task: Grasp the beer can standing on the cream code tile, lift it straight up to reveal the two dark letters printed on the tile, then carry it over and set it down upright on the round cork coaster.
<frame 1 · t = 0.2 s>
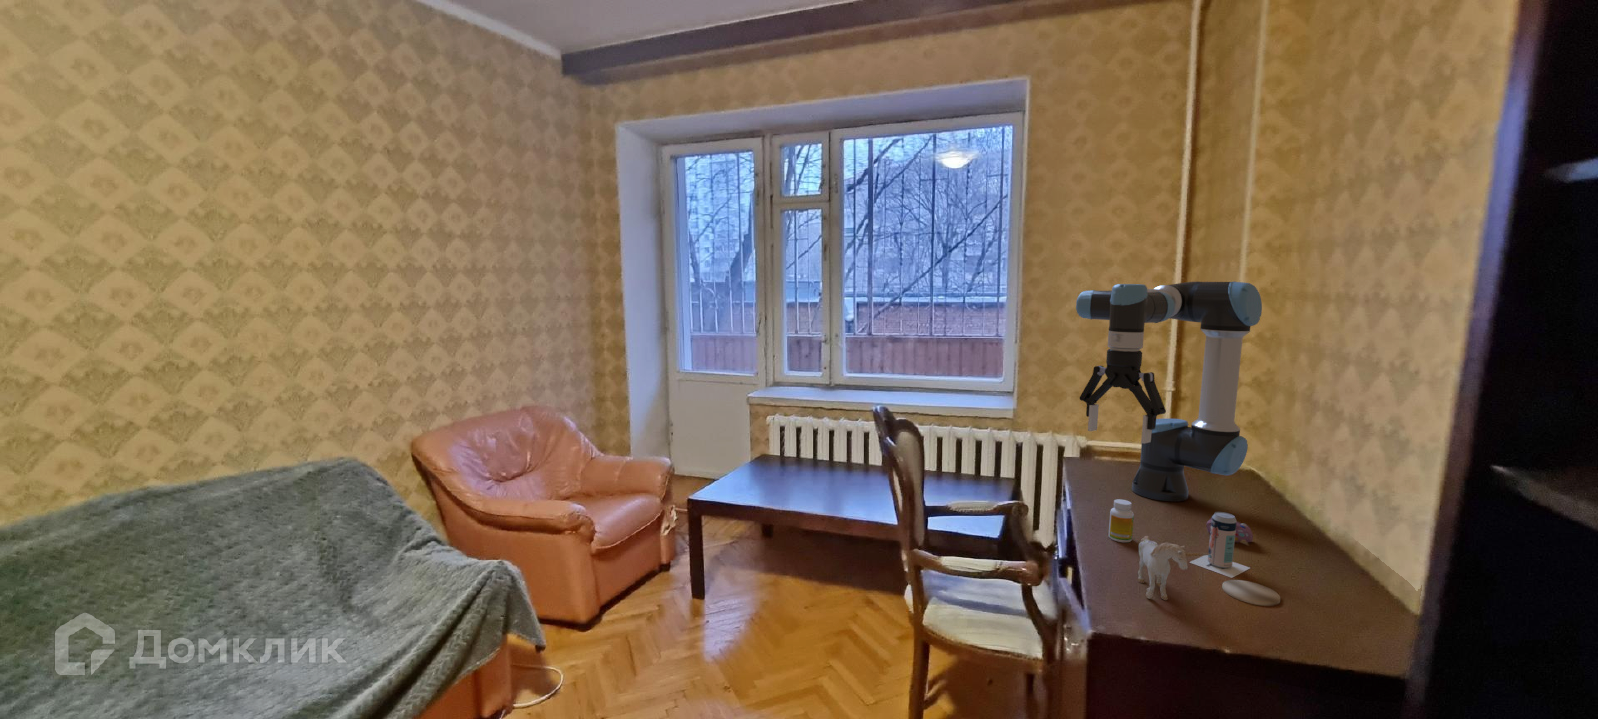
hand: (1118, 436, 155), 28 cm above the table, fingers open, 13 cm apart
video game controller: (1228, 540, 163), on the table
supplement bottle: (1120, 539, 163), on the table
cork coaster: (1250, 593, 135), on the table
code tile: (1219, 565, 148), on the table
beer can: (1219, 565, 148), resting on code tile
unicorn figurine: (1169, 595, 134), on the table
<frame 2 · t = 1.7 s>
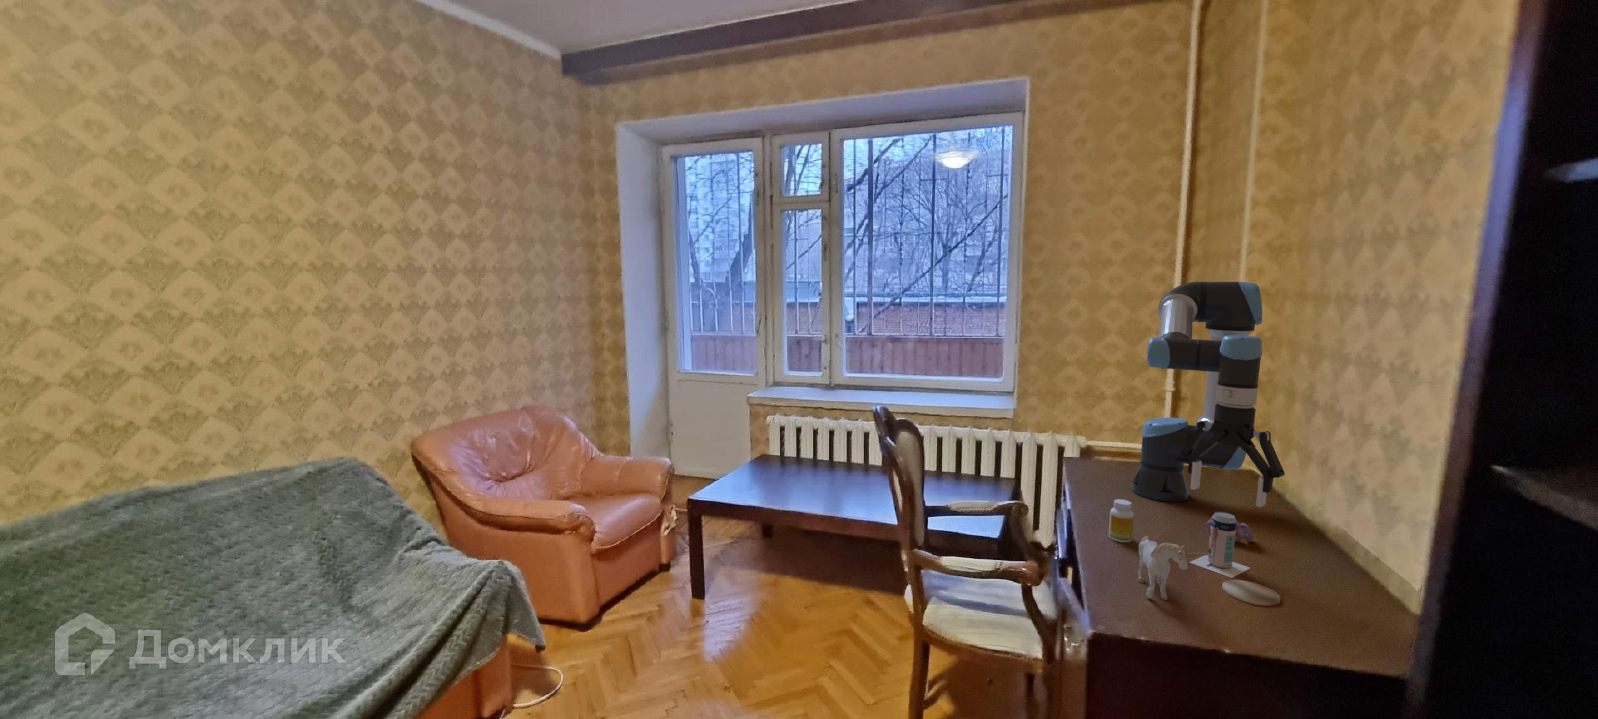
hand: (1226, 496, 146), 17 cm above the table, fingers open, 13 cm apart
nothing on the table moved.
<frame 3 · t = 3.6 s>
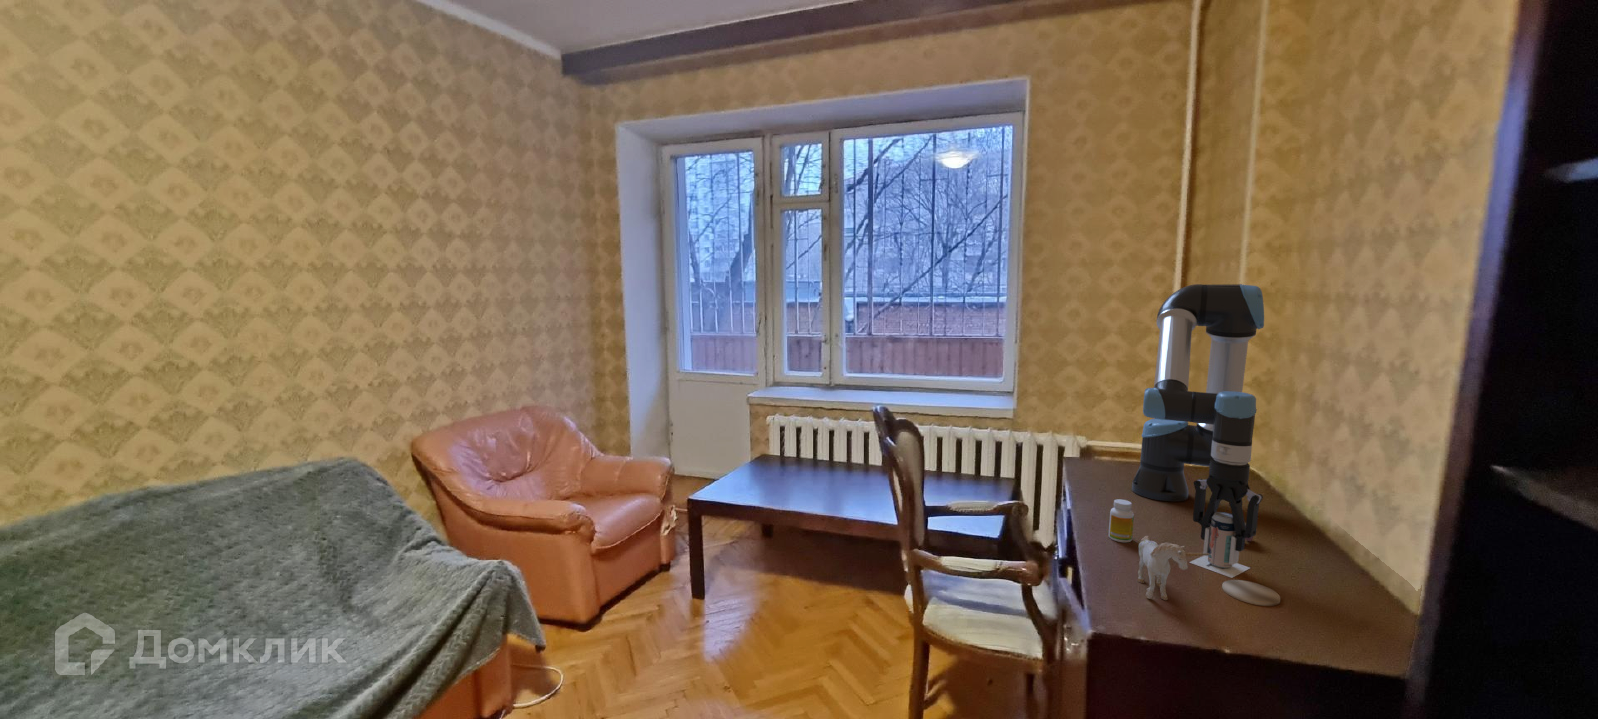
hand: (1220, 558, 148), 2 cm above the table, fingers closed on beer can, 5 cm apart
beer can: (1219, 565, 148), resting on code tile, touching gripper
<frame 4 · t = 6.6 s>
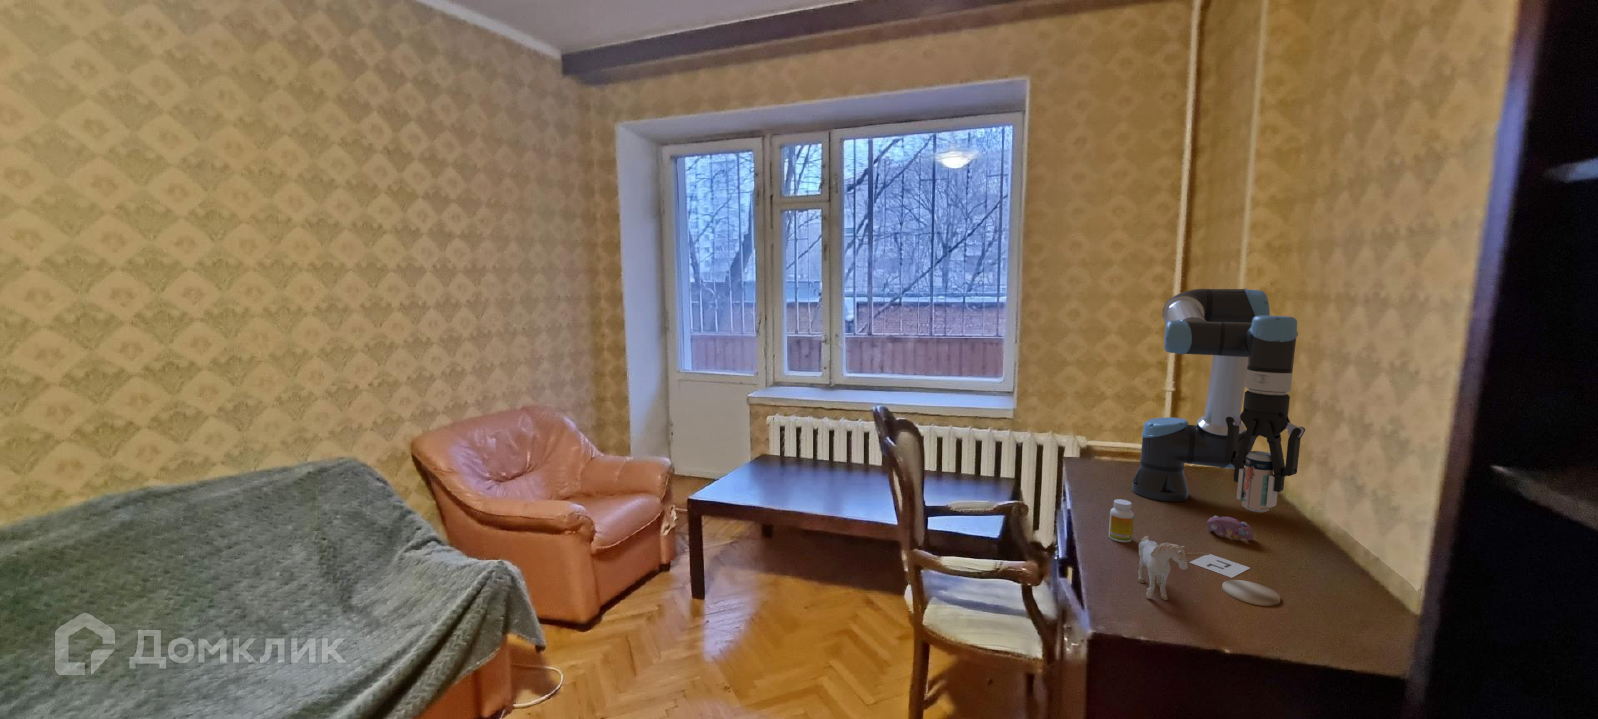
hand: (1256, 501, 133), 20 cm above the table, fingers closed on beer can, 5 cm apart
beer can: (1255, 510, 133), point 18 cm above the table, touching gripper
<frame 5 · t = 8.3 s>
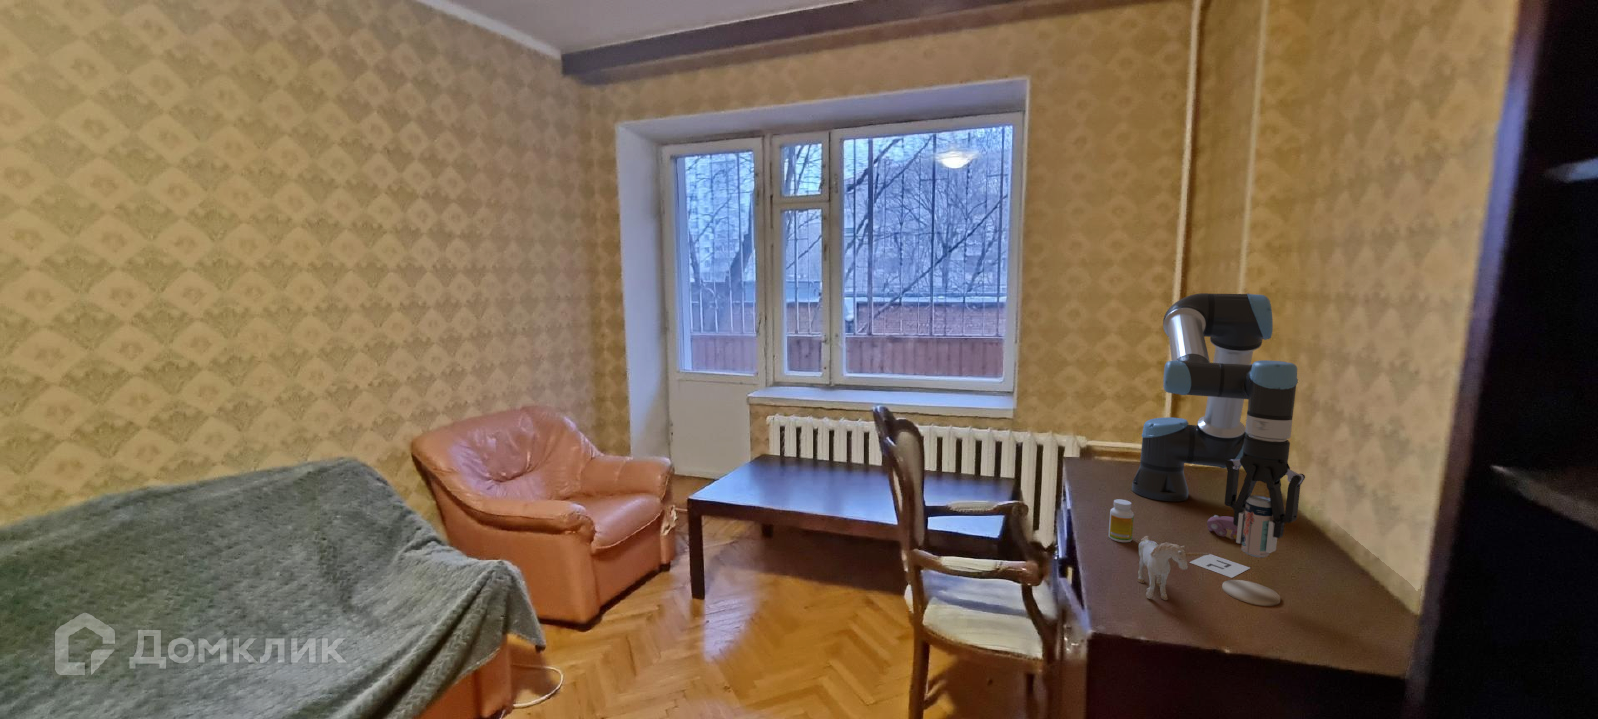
hand: (1255, 546, 133), 11 cm above the table, fingers closed on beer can, 5 cm apart
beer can: (1254, 554, 134), point 9 cm above the table, touching gripper
when the fingers open (4 cm above the table, at t = 9.8 s): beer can drops 1 cm, resting on cork coaster.
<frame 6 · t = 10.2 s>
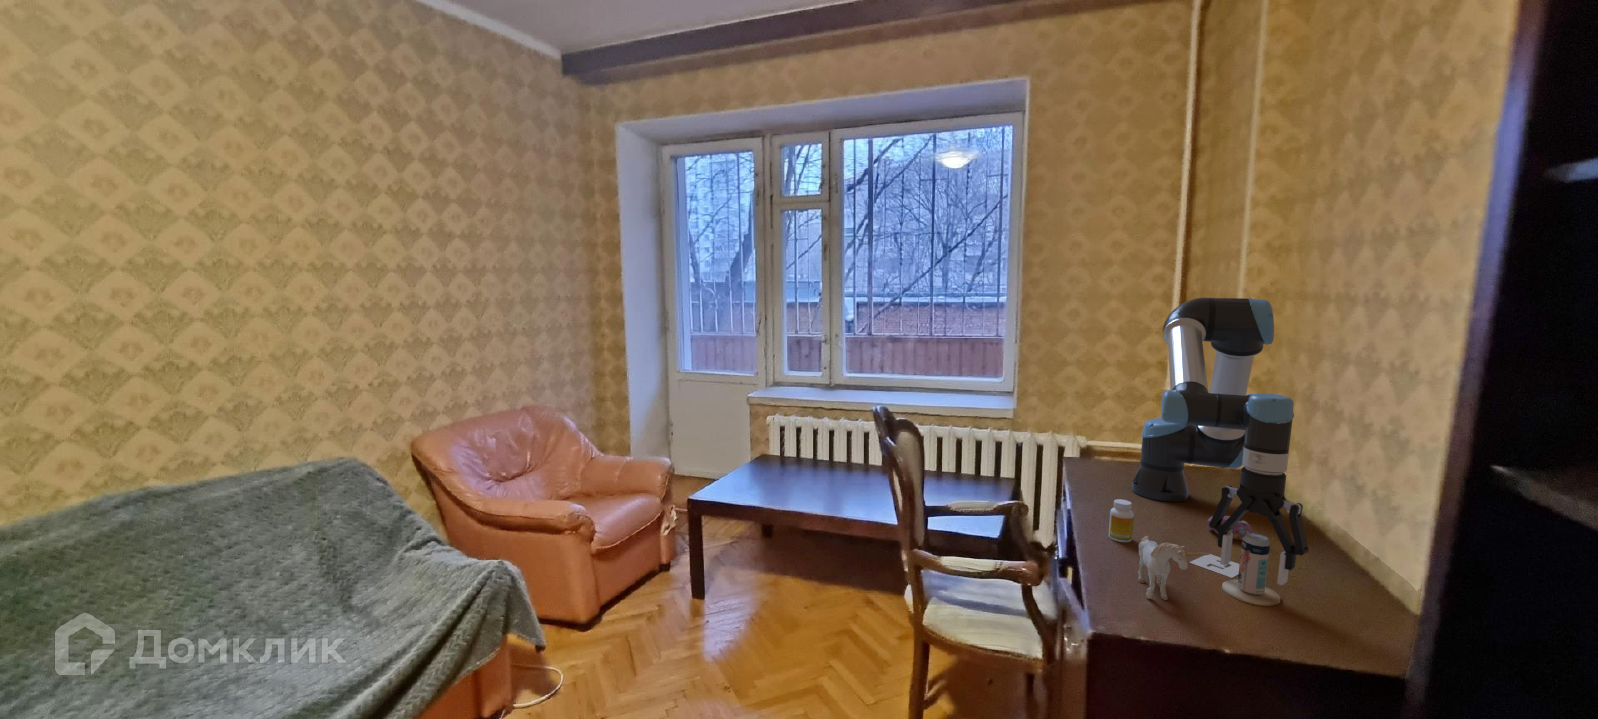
hand: (1252, 572, 134), 5 cm above the table, fingers open, 10 cm apart
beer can: (1250, 591, 135), resting on cork coaster
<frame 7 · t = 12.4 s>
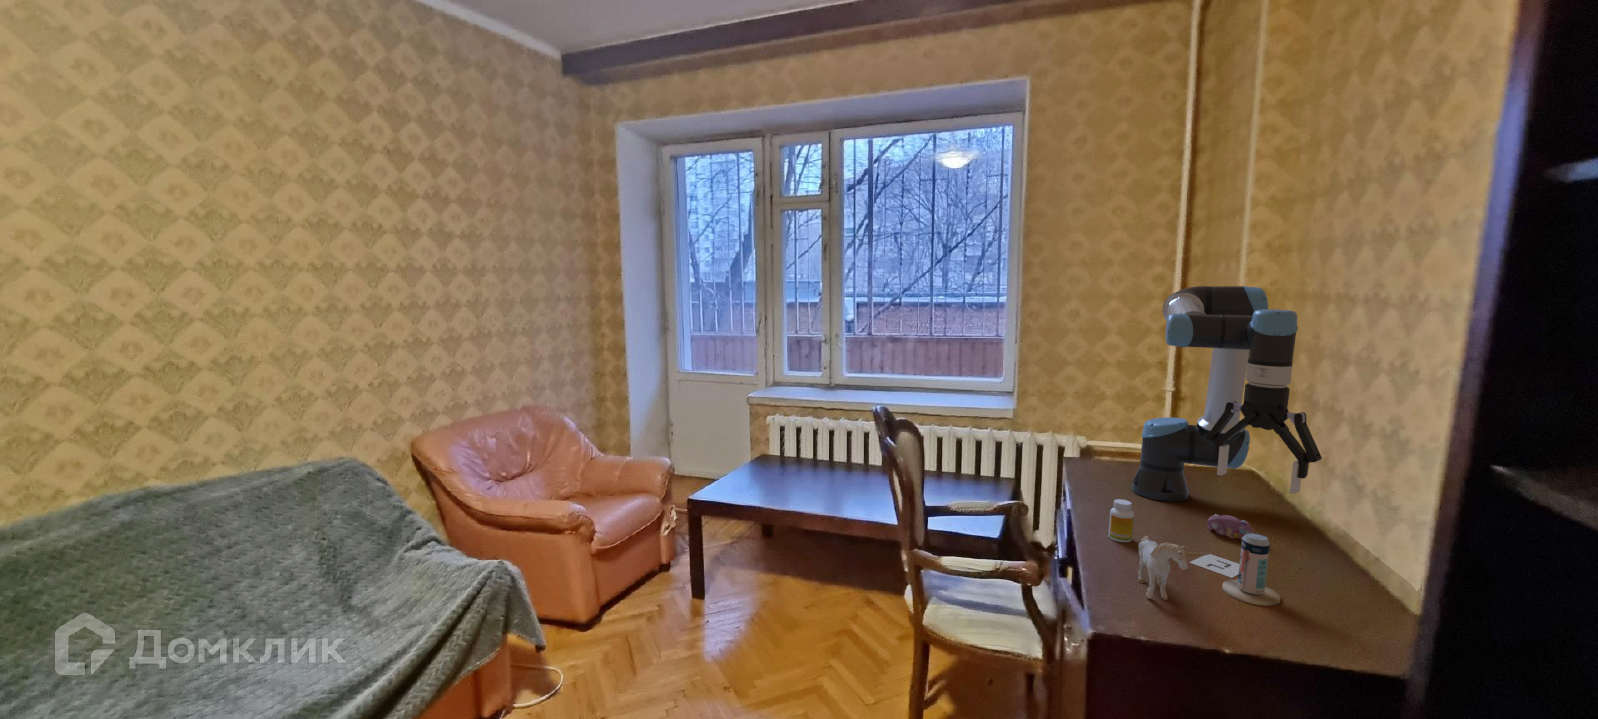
hand: (1256, 483, 136), 23 cm above the table, fingers open, 13 cm apart
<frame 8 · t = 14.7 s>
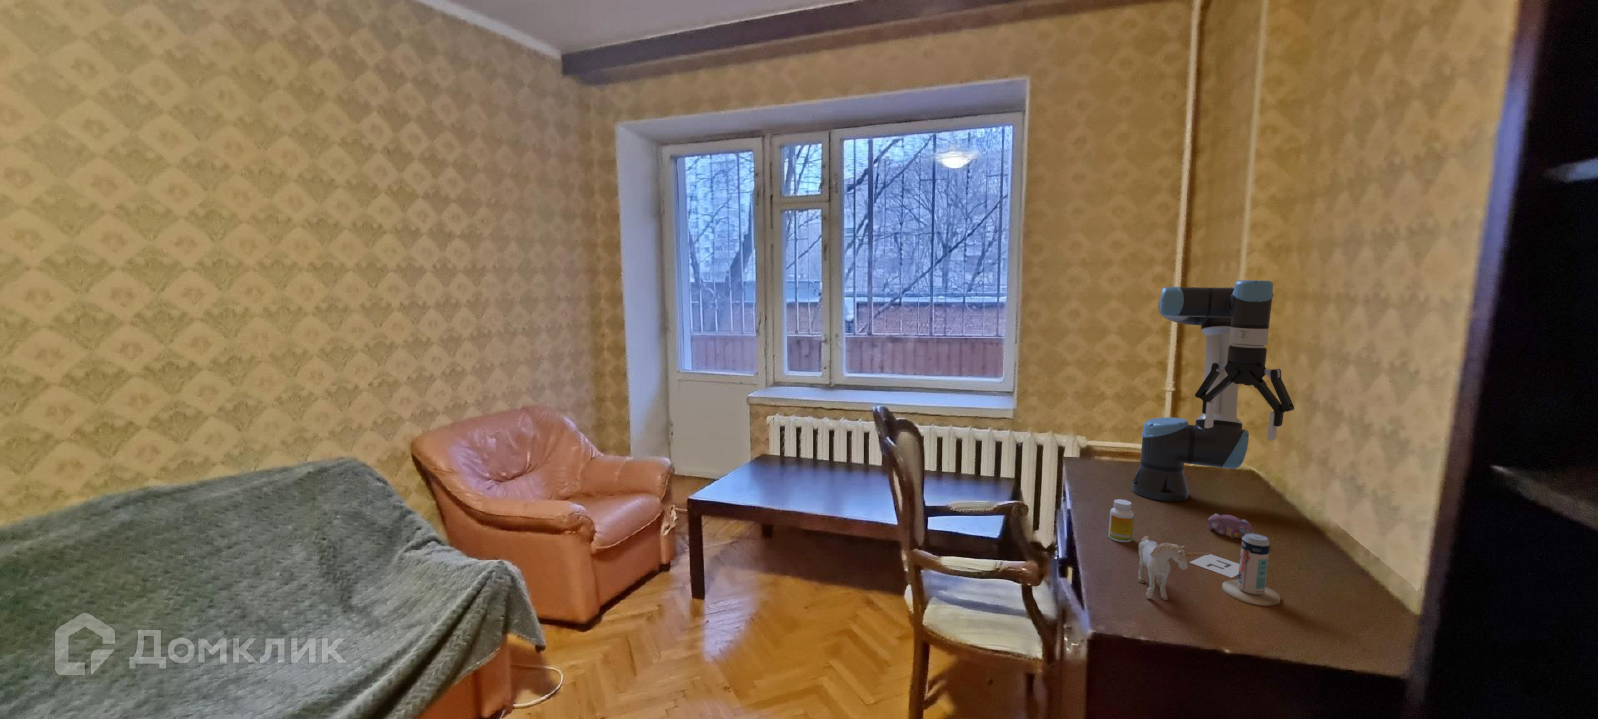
hand: (1238, 433, 154), 29 cm above the table, fingers open, 13 cm apart
at the end: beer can 0.1 cm from the cork coaster (horizontally); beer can tilted 0°; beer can resting on cork coaster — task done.
